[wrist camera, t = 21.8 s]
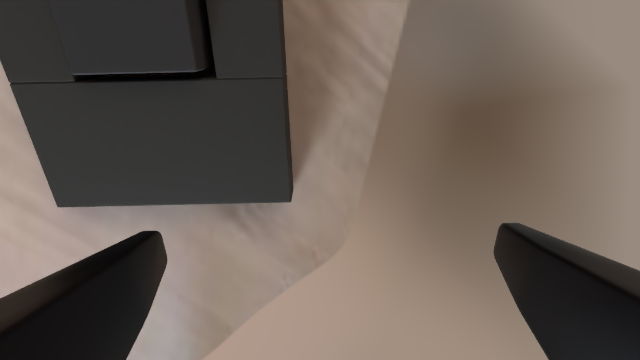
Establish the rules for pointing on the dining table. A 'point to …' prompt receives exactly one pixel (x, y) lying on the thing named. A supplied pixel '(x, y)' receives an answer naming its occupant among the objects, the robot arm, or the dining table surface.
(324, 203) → the dining table surface
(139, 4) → the small pad
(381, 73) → the dining table surface
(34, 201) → the dining table surface
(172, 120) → the base pad
